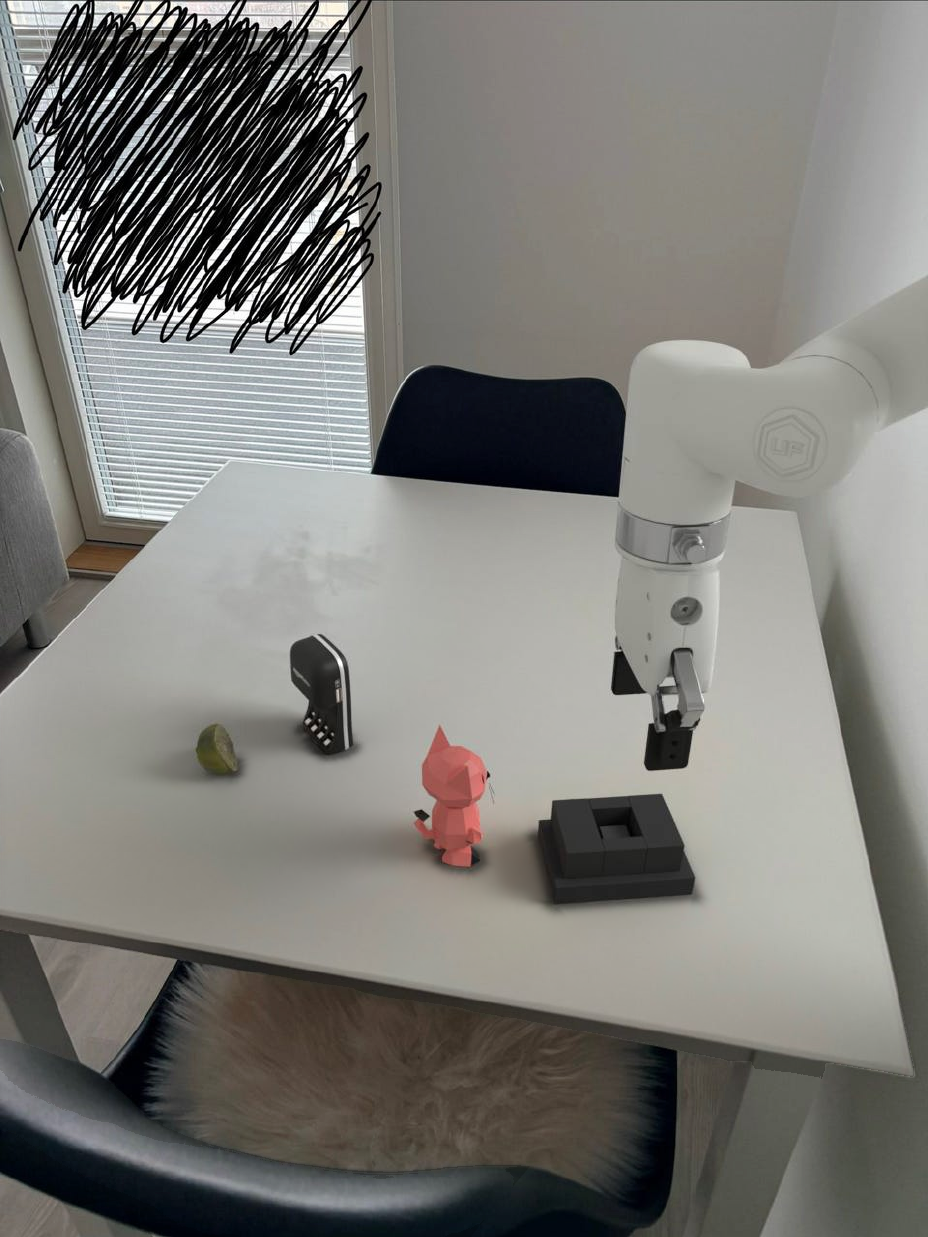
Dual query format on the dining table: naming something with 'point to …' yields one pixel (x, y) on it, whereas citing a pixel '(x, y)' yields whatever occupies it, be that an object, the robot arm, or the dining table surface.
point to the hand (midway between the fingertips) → (646, 727)
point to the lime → (216, 750)
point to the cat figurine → (453, 800)
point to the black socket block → (591, 856)
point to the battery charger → (323, 691)
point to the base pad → (609, 885)
